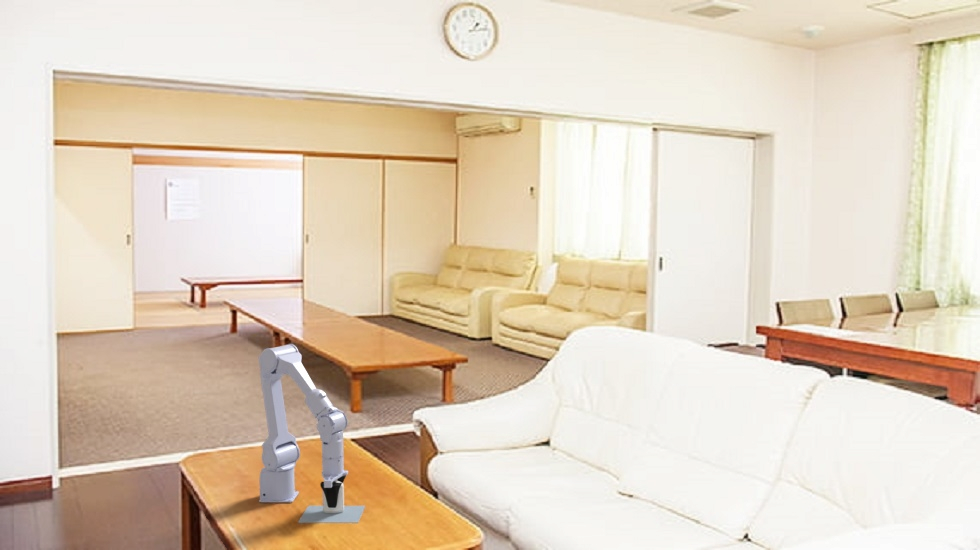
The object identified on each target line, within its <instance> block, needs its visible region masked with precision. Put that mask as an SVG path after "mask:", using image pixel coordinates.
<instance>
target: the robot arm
mask: <svg viewBox="0 0 980 550" xmlns="http://www.w3.org/2000/svg"><path fill="white" fill-rule="evenodd" d="M302 357H303V356H302V354H301V353H300V352H299V349H298V347H297V346H296V345H295V344H293V343H288V344H284V345H279V346H276V347H270V348H269V347H267V348H265V349H263V350H262V352H261V353H260V354H259V356H258V364H259V370H260V373H259V375H260V383H261V390H262V398H263V405H264V410H265V411H264V412H265V418H266V425H267V430H268V432H267V433H268V436H267V438H266V439H265V440H264V442H263V443H262V445H261V447H262V448H261V449H262V453H261V461H262V464H263V466H264V467H262V468H261V470H260V471H259V500H258V502H259V503H293V502H294V501H295V500H296V499H297V496H298V495H299V494H300V491H299V490H296V487H295V486H296V485H295V480H296V479H295V467H296V465H297V461H298V460H299V459H300V457H301V450H300V447H299V445H298V443H297V439H296V436H295V435H293V434H292V433H290V432H289V428H288V420H287V414H286V406H285V401H284V392H283V386H282V380H281V379H282V378H283V376H284V375H286V376H287V375H288V376H289V377H290V378H291V379H292V380H293V382H294V383H295V384H296V386H297V387H298V388H299V389H300V390H301V392H302V393H303V394H304V395H305V397H304V403H305V404H306V406H307V408H308V410H309V411H310V412H311V413H312V415H313V417H314V419H316V422H317V423H316V429H317V432H318V433H319V439H320V441H321V460H322V461H321V463H322V464H321V465H322V466H321V468H322V469H321V470H322V471H321V477H322V479H323V481H321V482H320V484H319V486H320V488H321V490H322V493H323V492H324V494H325V497H326V501H327V505H328V508H336V506H337V501H338V493H339V489H340V487H341V484H342V483H343V484H344V482H345V479H346V477H347V476H348V475H349V470H345V469H344V465H345V464H344V430H346V428H347V426H348V418H347V416H346V413H345V412H344V411H343V410H341V409H338V407H335V406H334V404H333V403H332V402H331V400H330V399H329V397H328V396H327V394H326V392H325V391H324V390H322V389H319V388H317V387H316V386H315V384H314V382H313V380H312V379H311V377H310V375H309V373H308V371H307V370H306V368H305V366H304V365H303V363H302ZM335 480H337V481H340V482H342V483H336V482H335Z"/></svg>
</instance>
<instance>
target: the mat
mask: <svg viewBox="0 0 980 550" xmlns="http://www.w3.org/2000/svg"><path fill="white" fill-rule="evenodd" d="M365 507H366V505H344V510H343V512H341V513H325V512H323V505H307V507H306V508H305V510H304V512H303V513H302V515H301V516H300V518H299V519H298V521H297V523H298V524H309V523H310V524H328V523H329V524H351V523H352V524H359V522H360V519H361V517H362V515H363V513H364V511H365Z"/></svg>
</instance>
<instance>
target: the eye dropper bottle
mask: <svg viewBox="0 0 980 550" xmlns="http://www.w3.org/2000/svg"><path fill="white" fill-rule="evenodd" d="M335 482H336V483H342V482H340V481H337V480H335ZM344 489H345V486H344V482H343V483H342V484H341V487H340V489H339V493H338V501H337V506H336V508H328V505H327V501H326V497H325V494H324V492H323V491H322V506H323V512H325V513H341V512H343V510H344V506H345V490H344Z"/></svg>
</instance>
